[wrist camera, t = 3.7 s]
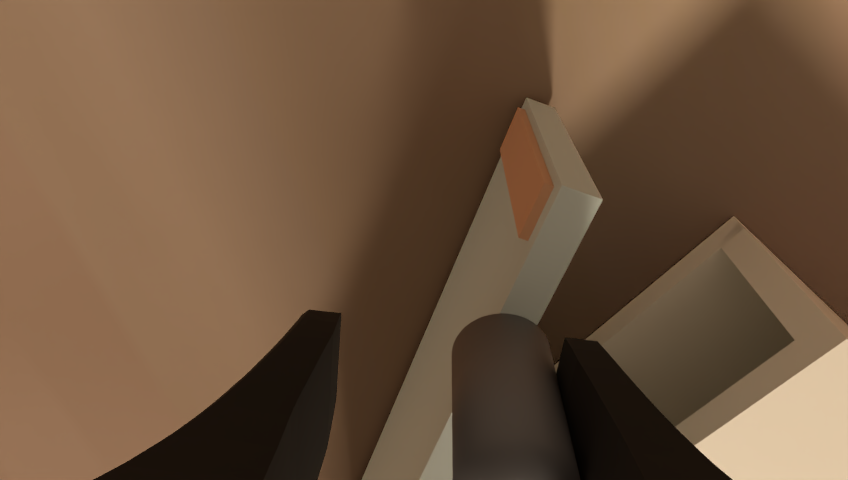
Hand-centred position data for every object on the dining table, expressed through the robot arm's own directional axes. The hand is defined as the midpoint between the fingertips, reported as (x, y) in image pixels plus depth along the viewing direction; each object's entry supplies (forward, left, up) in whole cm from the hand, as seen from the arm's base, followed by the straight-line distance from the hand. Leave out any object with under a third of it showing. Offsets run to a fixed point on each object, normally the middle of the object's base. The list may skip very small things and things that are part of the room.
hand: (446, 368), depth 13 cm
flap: (-3, -3, -7) cm, 8 cm away
